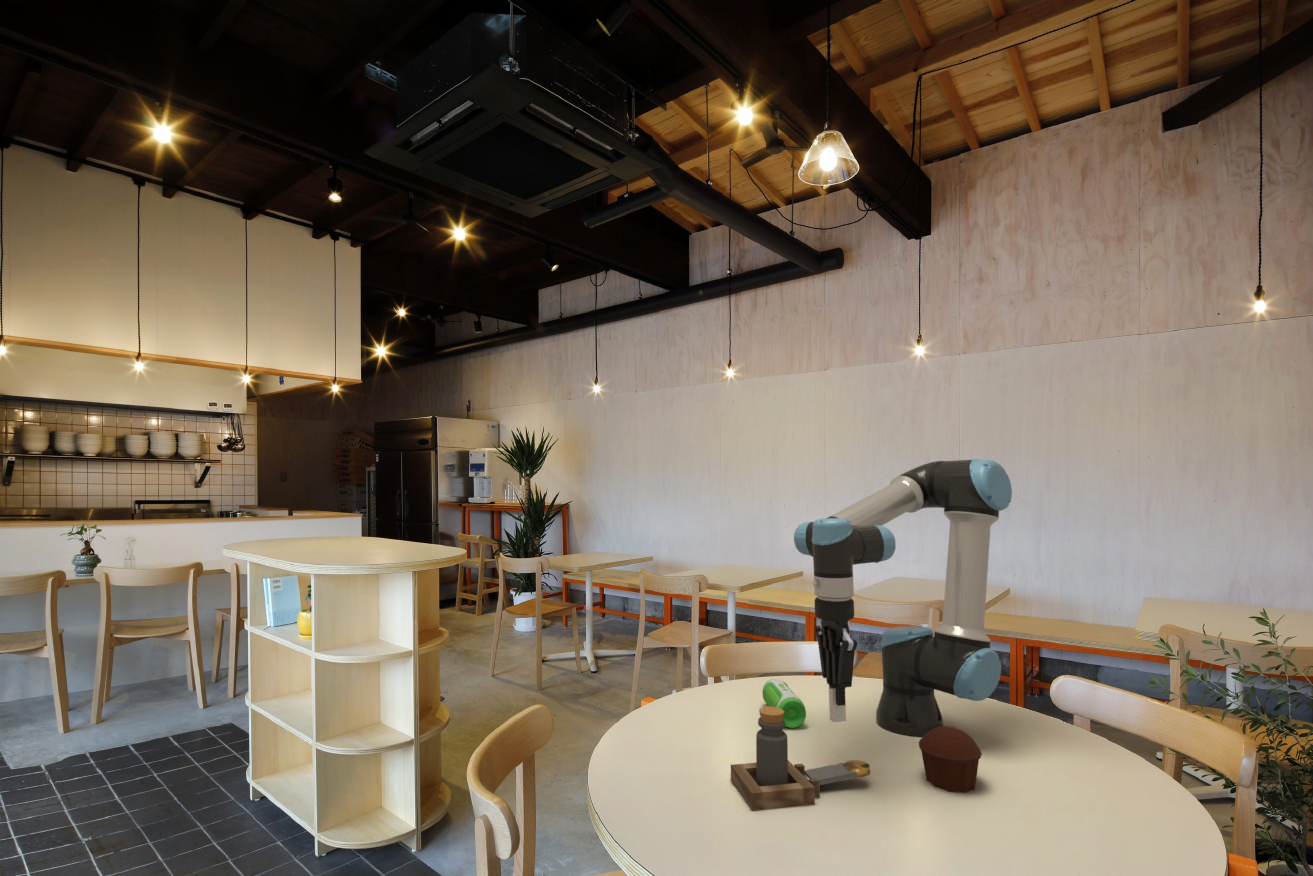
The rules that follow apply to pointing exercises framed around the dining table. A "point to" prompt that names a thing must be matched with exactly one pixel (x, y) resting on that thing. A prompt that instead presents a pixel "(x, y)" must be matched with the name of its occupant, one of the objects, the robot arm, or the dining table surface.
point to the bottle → (771, 748)
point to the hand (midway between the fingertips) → (837, 720)
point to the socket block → (774, 788)
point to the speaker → (784, 702)
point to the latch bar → (838, 772)
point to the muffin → (950, 759)
